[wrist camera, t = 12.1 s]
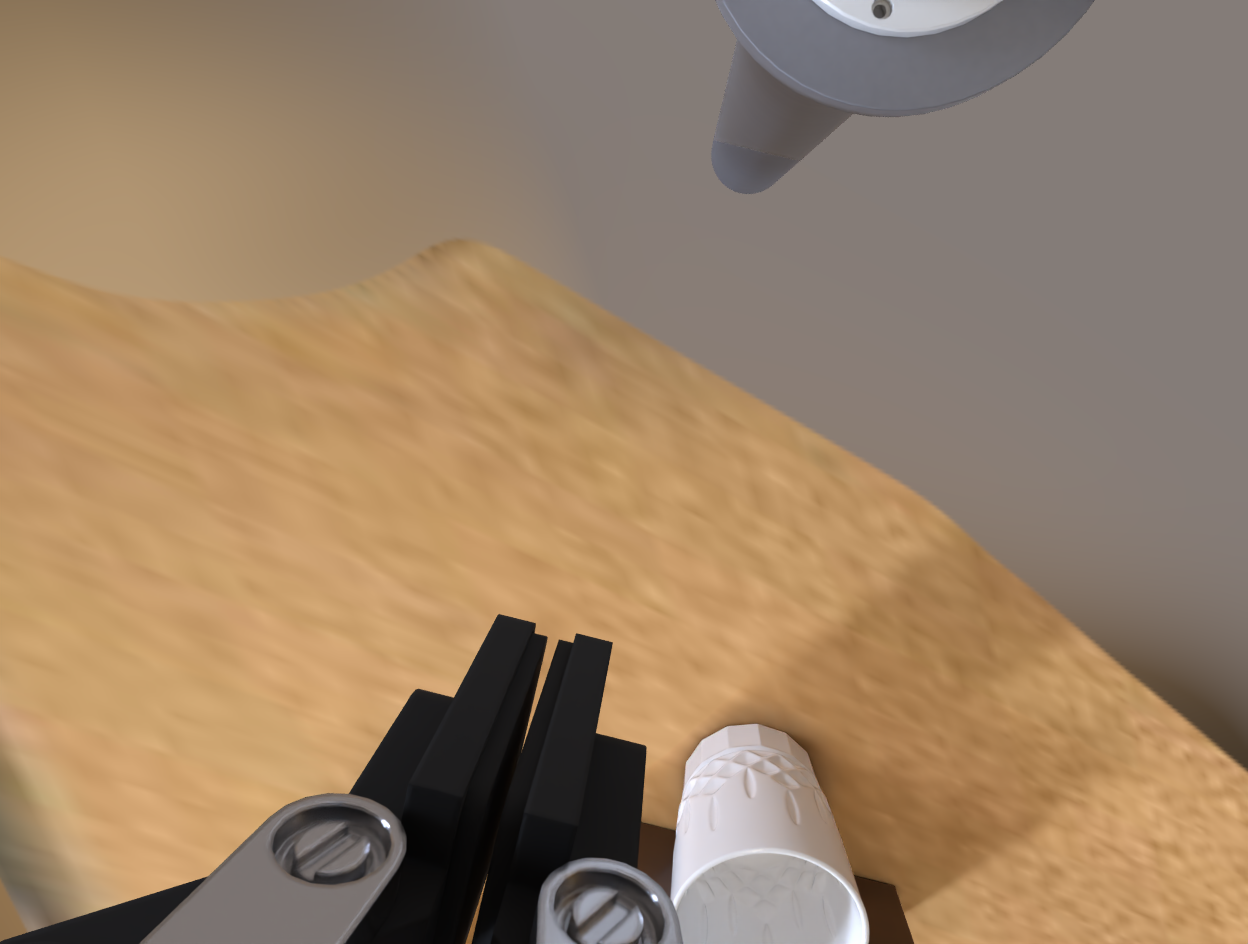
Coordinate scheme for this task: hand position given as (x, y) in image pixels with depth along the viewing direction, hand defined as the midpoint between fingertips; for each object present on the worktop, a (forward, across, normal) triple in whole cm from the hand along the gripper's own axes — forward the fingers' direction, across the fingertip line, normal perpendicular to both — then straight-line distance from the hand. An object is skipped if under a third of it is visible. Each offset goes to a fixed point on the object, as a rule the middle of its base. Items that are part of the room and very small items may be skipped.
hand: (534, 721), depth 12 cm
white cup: (+27, -10, +18) cm, 34 cm away
